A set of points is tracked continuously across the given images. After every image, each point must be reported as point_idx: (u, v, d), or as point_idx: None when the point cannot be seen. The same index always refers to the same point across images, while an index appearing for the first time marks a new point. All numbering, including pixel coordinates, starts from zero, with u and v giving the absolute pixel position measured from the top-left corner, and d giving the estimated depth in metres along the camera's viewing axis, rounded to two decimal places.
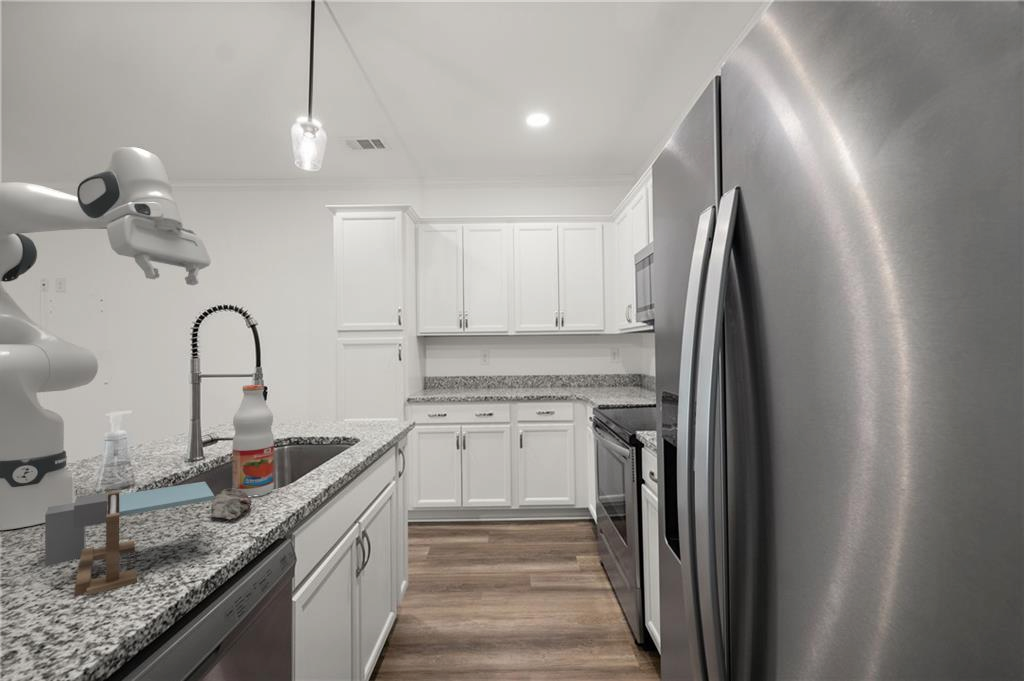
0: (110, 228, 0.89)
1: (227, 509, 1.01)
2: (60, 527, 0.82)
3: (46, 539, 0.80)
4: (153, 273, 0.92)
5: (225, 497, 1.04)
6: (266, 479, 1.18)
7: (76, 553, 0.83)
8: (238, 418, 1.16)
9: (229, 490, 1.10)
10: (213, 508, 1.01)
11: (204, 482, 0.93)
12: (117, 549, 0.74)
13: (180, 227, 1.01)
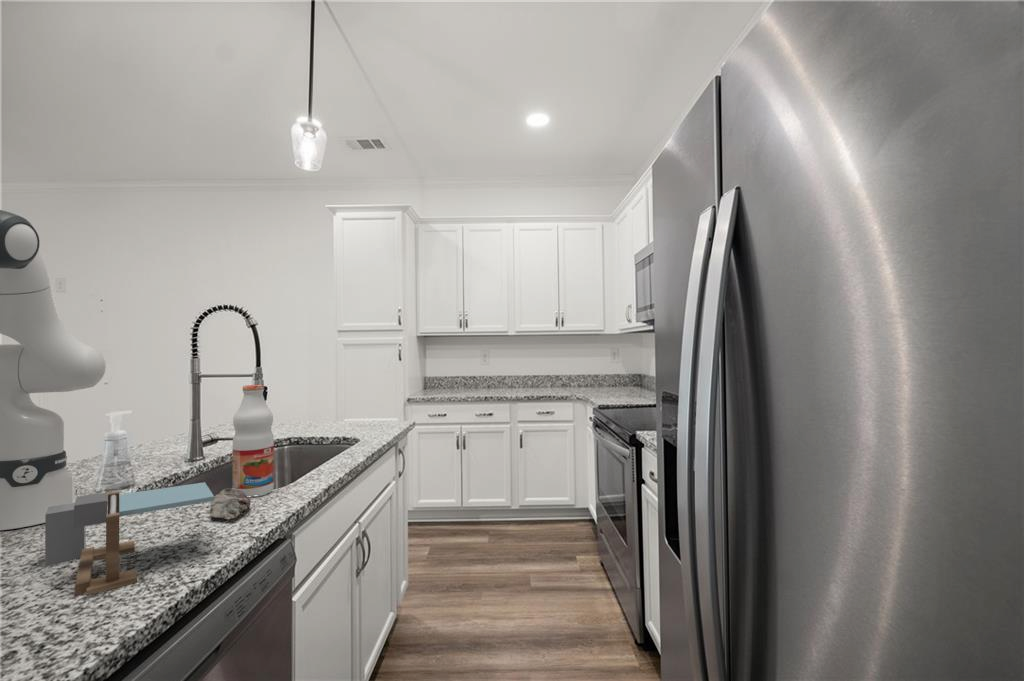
0: None
1: (226, 509, 1.01)
2: (60, 527, 0.82)
3: (46, 539, 0.80)
4: None
5: (224, 497, 1.04)
6: (266, 479, 1.18)
7: (76, 553, 0.83)
8: (238, 418, 1.16)
9: (228, 490, 1.10)
10: (212, 508, 1.01)
11: (204, 483, 0.93)
12: (117, 549, 0.74)
13: None
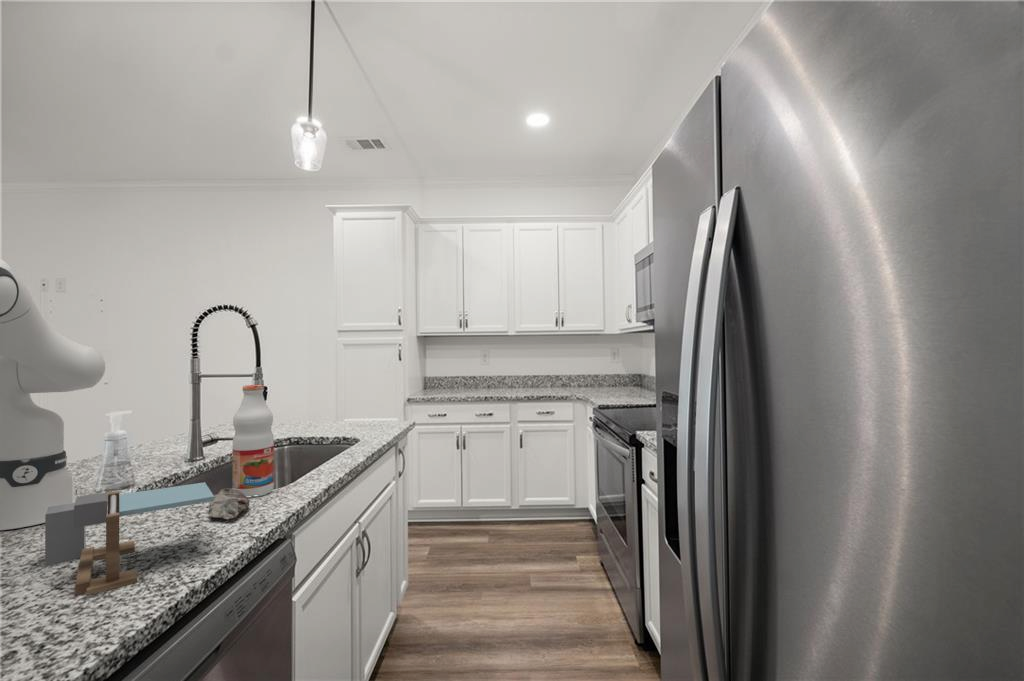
0: None
1: (225, 509, 1.01)
2: (60, 527, 0.82)
3: (46, 539, 0.80)
4: None
5: (223, 497, 1.04)
6: (266, 479, 1.18)
7: (76, 553, 0.83)
8: (238, 418, 1.16)
9: (227, 490, 1.10)
10: (211, 508, 1.01)
11: (204, 483, 0.93)
12: (117, 549, 0.74)
13: None
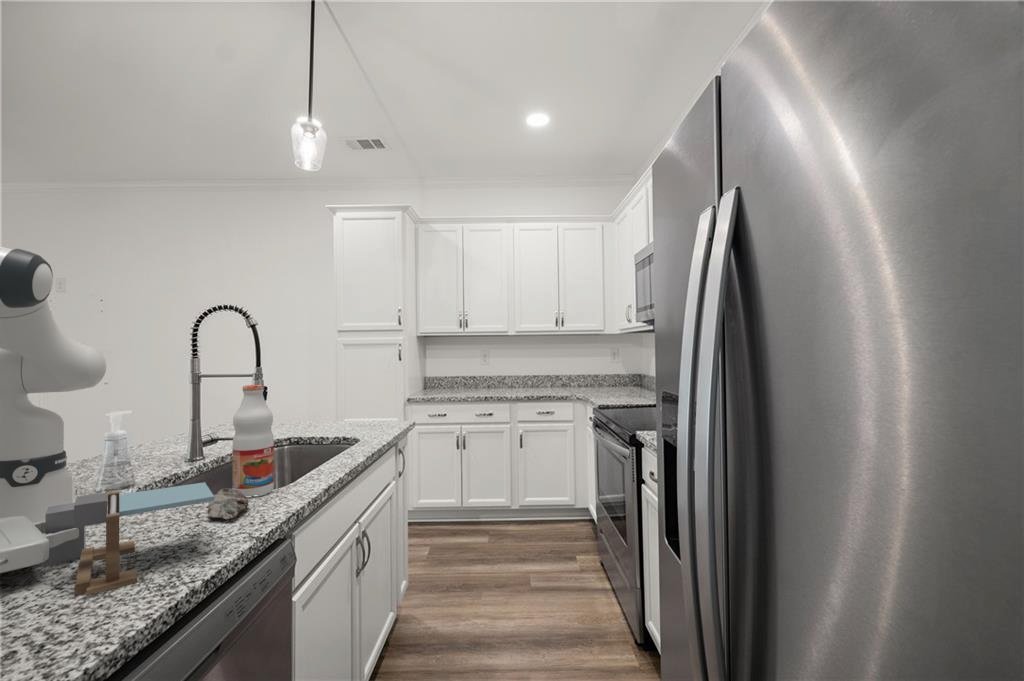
0: None
1: (224, 509, 1.01)
2: (60, 527, 0.82)
3: None
4: None
5: (222, 497, 1.04)
6: (266, 479, 1.18)
7: (76, 553, 0.83)
8: (238, 418, 1.16)
9: (226, 490, 1.10)
10: (210, 508, 1.01)
11: (204, 483, 0.93)
12: (117, 549, 0.74)
13: None
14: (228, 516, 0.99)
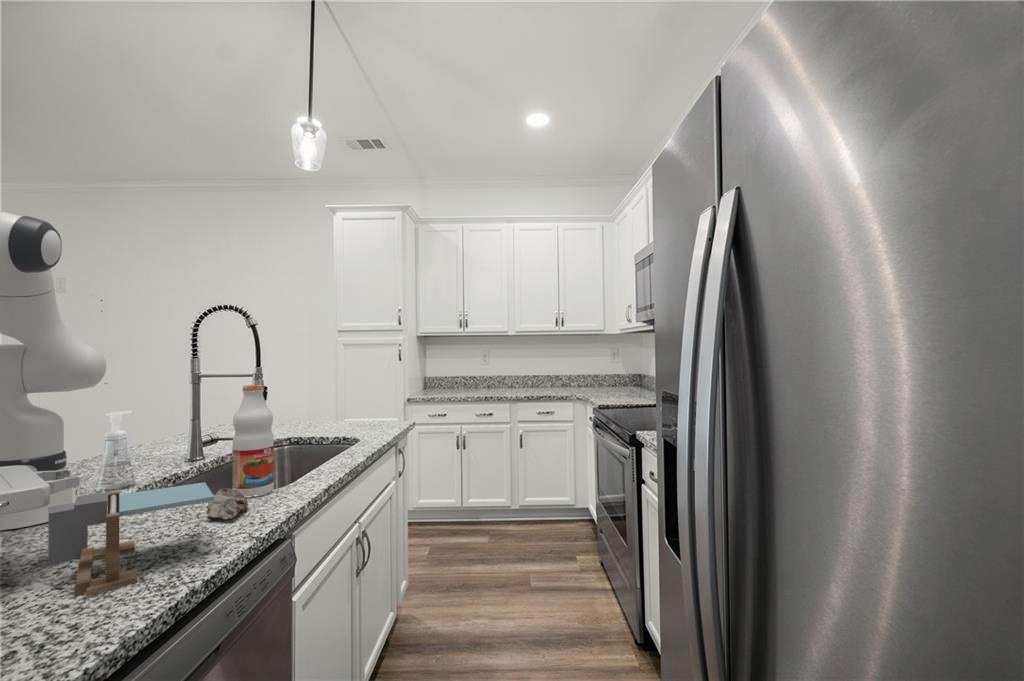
0: None
1: (224, 509, 1.01)
2: (64, 526, 0.82)
3: (50, 538, 0.81)
4: None
5: (221, 497, 1.04)
6: (266, 479, 1.18)
7: (79, 552, 0.83)
8: (238, 418, 1.16)
9: (225, 490, 1.10)
10: (209, 508, 1.01)
11: (204, 483, 0.93)
12: (117, 549, 0.74)
13: None
14: (227, 516, 0.99)
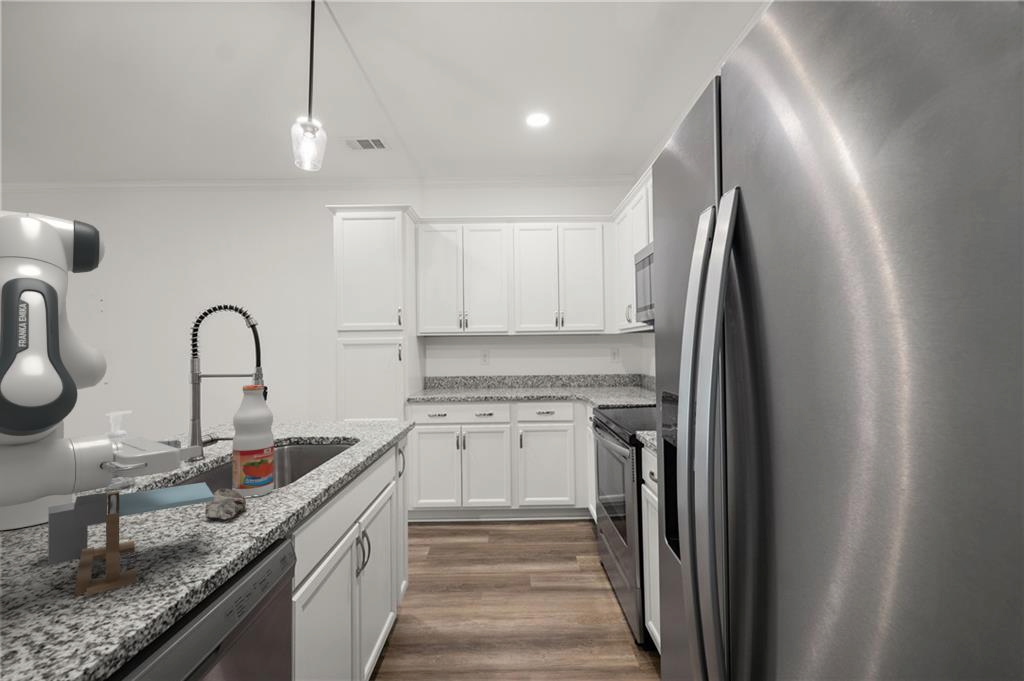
0: None
1: (222, 509, 1.01)
2: (64, 526, 0.82)
3: (49, 538, 0.81)
4: None
5: (219, 497, 1.04)
6: (266, 479, 1.18)
7: (79, 552, 0.83)
8: (238, 418, 1.16)
9: (223, 490, 1.10)
10: (207, 508, 1.01)
11: (204, 483, 0.93)
12: (117, 549, 0.74)
13: None
14: (226, 516, 0.99)
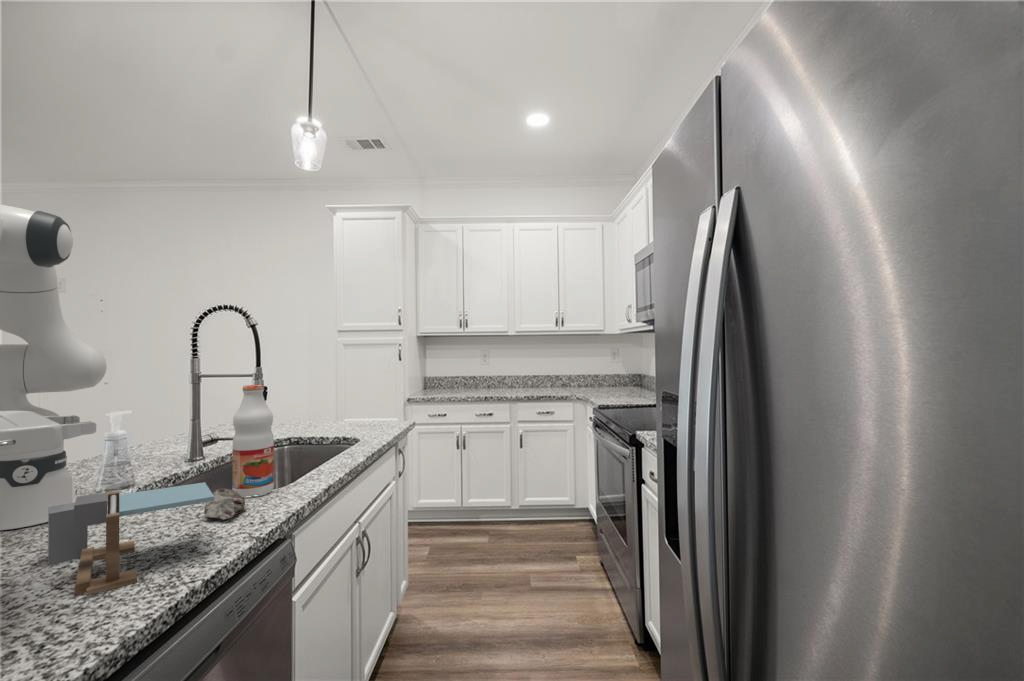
0: None
1: (221, 509, 1.01)
2: (64, 526, 0.82)
3: (49, 538, 0.81)
4: None
5: (218, 497, 1.04)
6: (266, 479, 1.18)
7: (79, 552, 0.83)
8: (238, 418, 1.16)
9: (222, 490, 1.10)
10: (207, 508, 1.01)
11: (204, 483, 0.93)
12: (117, 549, 0.74)
13: None
14: (225, 516, 0.99)
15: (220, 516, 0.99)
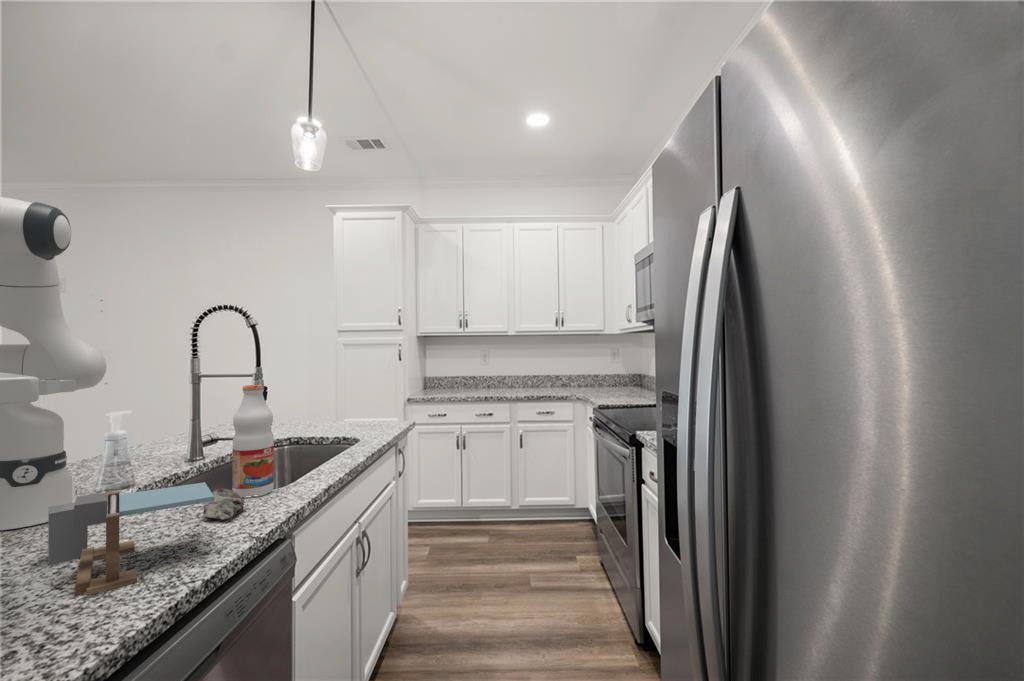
0: None
1: (220, 509, 1.01)
2: (64, 526, 0.82)
3: (50, 538, 0.81)
4: None
5: (217, 497, 1.04)
6: (266, 479, 1.18)
7: (79, 552, 0.83)
8: (238, 418, 1.16)
9: (221, 490, 1.10)
10: (206, 508, 1.01)
11: (204, 483, 0.93)
12: (117, 549, 0.74)
13: None
14: (224, 516, 0.99)
15: (219, 516, 0.99)
